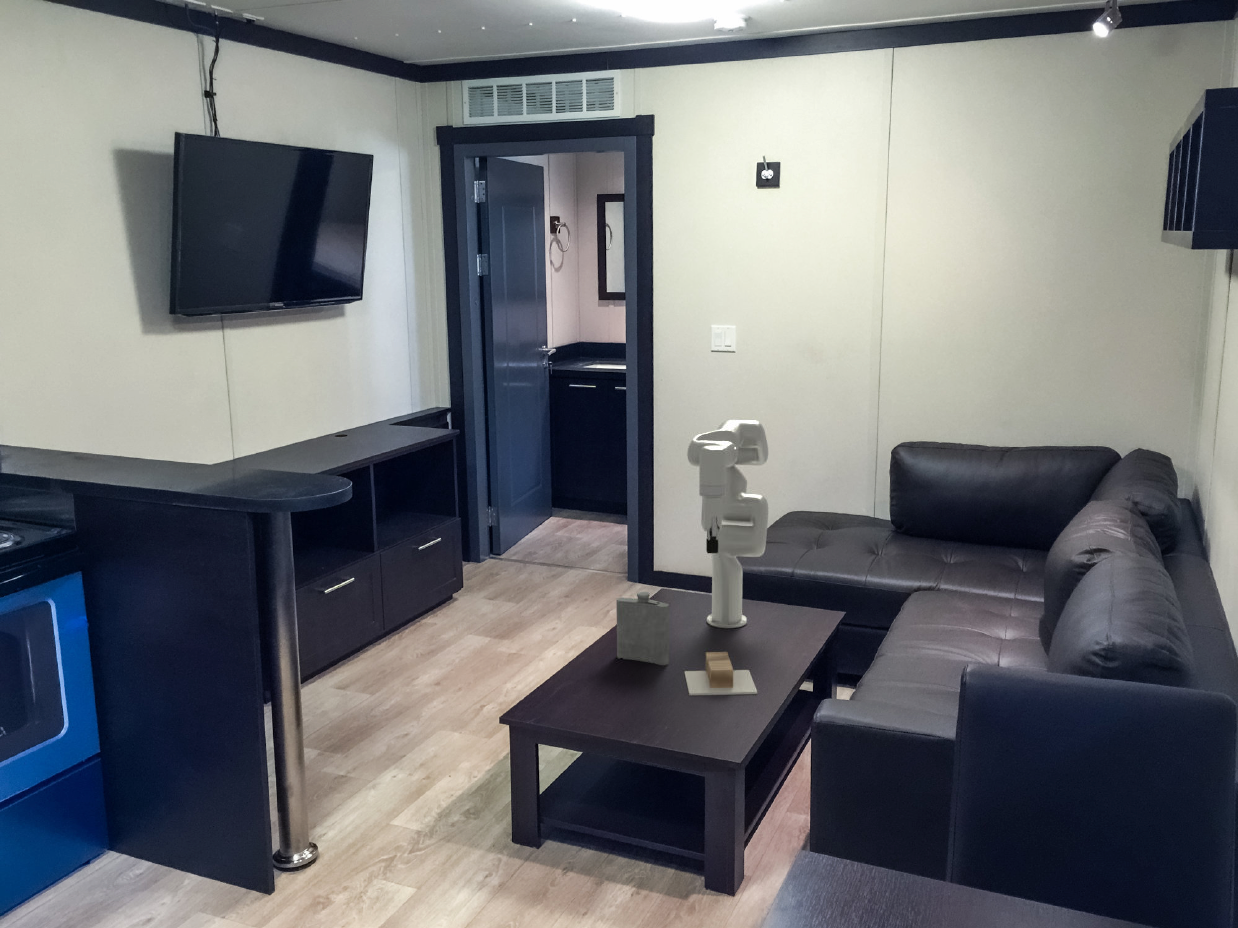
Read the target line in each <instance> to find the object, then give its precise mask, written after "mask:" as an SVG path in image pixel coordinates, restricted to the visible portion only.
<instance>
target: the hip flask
mask: <svg viewBox="0 0 1238 928" xmlns="http://www.w3.org/2000/svg"><path fill="white" fill-rule="evenodd" d="M636 597H637V598H633V597H632V598H631V597H617V598H616V599H615V600H616V602H615V603H616V658H617V659H620V658H623V659H622V660H631V661H638V662H639V661H640V662H645V663H650V664H654V663H655V665H659V666H667V665H669V664H670V663H669V661H670V660H669V659H670V648H669V647H670V646H669V644H670V643H669V640H670V638H669V637H670V635H669V634H670V630H669V628H670V626H669V625H670V624H669V623H670V621H669V619H670V616H669V615H670V614H669V613H670V608H669V605H670V604H669V603H666V602H661V601H658V600H654V599H650V592H648V591H638V592H637V593H636Z"/></svg>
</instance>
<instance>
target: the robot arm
mask: <svg viewBox="0 0 1238 928" xmlns="http://www.w3.org/2000/svg"><path fill="white" fill-rule="evenodd" d="M686 455H687V460H688V463H689V464H690V465H691V466H693V467H698V468H699V471H698V472H699V473H698V474H699V476H698V477H699V482H698V483H699V484H698V486H699V496H700V497H702V498H701V520H700V522H701V527H702V529H703V531H704V532H706V542H705V543H706V547H705V549H706V551H705V552H706V553H707V554H710V555H711V568H712V569H711V575H712V576H711V577H712V578H711V580H712V581H711V583H712V585H711V614H708V616H707V617H706V622H707V624H709V625H710V626H712V627H716V628H719V629H721V628H722V629H735V628H741V627H743V626H745V625H747V623H748V618H747V617H746V616H745V615H743V567H742V564H741V562H740V561H739V560H738V558H737V557H750V558H758V557H761V556H763V555H764V553H765V551H766V545H767V533H768V524H769V523H768V521H769V503H768V499H767V498H766V497H765V496H763V495H761V494H752V493H747V490H748V489H747V488H748V480H747V478H746V477H745V475H744V474H743V472H742V471H741V470H740V469H739V467H737V466H738V465H739V466H742V465H743V466H763V465H764V464H766V463H767V461H768V459H769V458H768V457H769V445H768V441H767V435H766V432H765V428H764V427H763V425H762V423H760V421H757V420H742V419H741V420H740V419H730V420H725V421H723V422H722V423H720V425H719V426H718V427H717V428H716V430H712V431H708V432H705V433H701V434H698V435H695V436H694V437H693V438H692V440H691V441H690V443H689V445H688V448H687V453H686ZM722 523H726V524H722ZM739 524H740V525H739Z"/></svg>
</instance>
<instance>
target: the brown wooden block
mask: <svg viewBox="0 0 1238 928" xmlns="http://www.w3.org/2000/svg"><path fill="white" fill-rule="evenodd" d="M733 668H734V667H733V665H732V662H731V659H730V657H729V653H728V651H710V652H705V671H706V672H707V676H708V680H709V683H710V687H711V688H732V687H733V670H734V669H733Z"/></svg>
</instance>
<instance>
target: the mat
mask: <svg viewBox="0 0 1238 928" xmlns="http://www.w3.org/2000/svg"><path fill="white" fill-rule="evenodd" d="M751 674H752V673H751V672H750V670H749V669H741V670H740V669H735V670H734V669H733V687H732V688H711V687H710V683H709V680H708V676H707V672H706V670H688V671H686V670H685V671H684V676H685V677H684V678H685V681H686V685H687V690H688V694H689V696H718V695H719V696H720V695H721V696H722V695H723V696H724V695H725V696H726V695H757V694H758V690H757V688H756V684H755V682H754V679H753V678H752V675H751Z"/></svg>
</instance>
